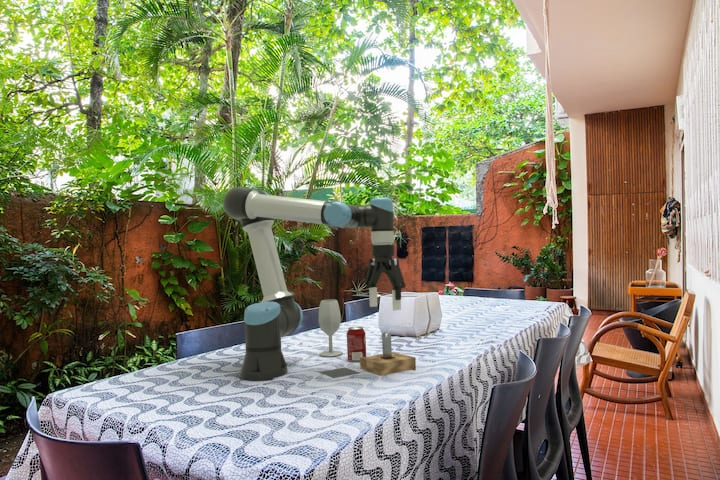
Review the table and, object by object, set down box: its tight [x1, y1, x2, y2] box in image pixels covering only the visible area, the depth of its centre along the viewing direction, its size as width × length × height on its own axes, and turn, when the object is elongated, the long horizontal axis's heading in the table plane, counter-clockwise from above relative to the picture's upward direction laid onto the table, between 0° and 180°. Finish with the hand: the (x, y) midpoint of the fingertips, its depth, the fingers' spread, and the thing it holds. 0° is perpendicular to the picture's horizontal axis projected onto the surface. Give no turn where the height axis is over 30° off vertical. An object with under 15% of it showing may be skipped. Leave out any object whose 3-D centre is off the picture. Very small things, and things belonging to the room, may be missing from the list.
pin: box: [381, 332, 393, 360], centre depth 167 cm, size 3×3×12 cm
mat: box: [318, 367, 361, 379], centre depth 164 cm, size 10×10×1 cm
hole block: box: [359, 351, 417, 376], centre depth 167 cm, size 14×12×4 cm
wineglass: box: [318, 299, 343, 358], centre depth 194 cm, size 9×9×21 cm
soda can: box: [346, 326, 367, 363], centre depth 181 cm, size 7×7×12 cm
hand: (384, 308), depth 167 cm, fingers open, 13 cm apart
